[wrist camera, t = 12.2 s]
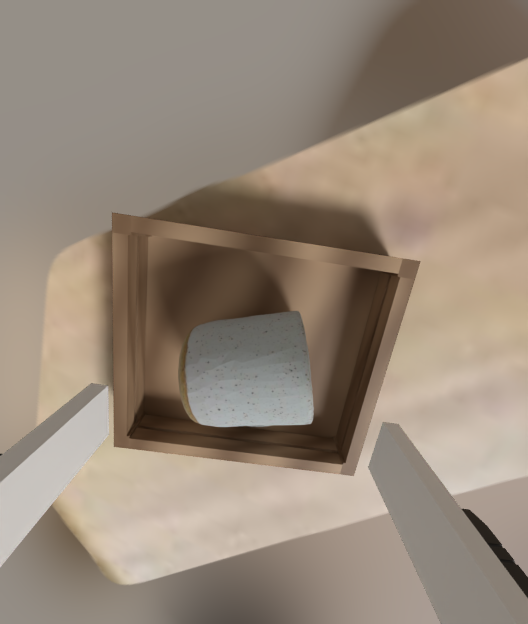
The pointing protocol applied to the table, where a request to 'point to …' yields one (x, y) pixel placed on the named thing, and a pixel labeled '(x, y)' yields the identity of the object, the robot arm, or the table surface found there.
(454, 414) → the table surface
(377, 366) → the crate
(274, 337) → the ceramic mug
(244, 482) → the table surface
